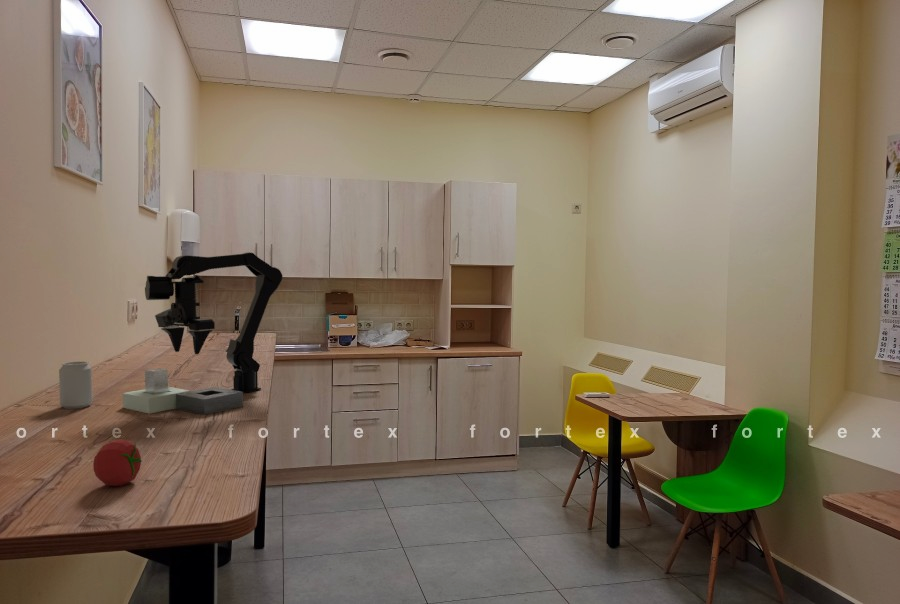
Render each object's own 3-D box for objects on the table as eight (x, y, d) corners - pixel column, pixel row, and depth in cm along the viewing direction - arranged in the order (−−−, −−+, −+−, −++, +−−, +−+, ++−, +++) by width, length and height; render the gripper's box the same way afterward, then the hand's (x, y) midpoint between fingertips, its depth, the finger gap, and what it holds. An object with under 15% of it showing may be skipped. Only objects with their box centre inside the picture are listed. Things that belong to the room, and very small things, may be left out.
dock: (164, 399, 176) (164, 386, 176) (190, 405, 170) (190, 390, 170) (123, 407, 166) (122, 393, 166) (149, 413, 160) (148, 398, 159)
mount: (214, 401, 175) (214, 387, 175) (242, 406, 169) (242, 391, 168) (176, 409, 165) (175, 394, 165) (204, 414, 159) (204, 399, 158)
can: (98, 403, 171) (97, 360, 170) (79, 410, 163) (78, 364, 163) (73, 403, 172) (72, 360, 171) (53, 409, 164) (52, 364, 164)
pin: (159, 404, 171) (158, 368, 170) (168, 406, 169) (167, 369, 168) (145, 407, 167) (144, 370, 167) (154, 408, 165) (153, 371, 165)
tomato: (90, 435, 107) (133, 428, 107) (116, 452, 113) (156, 445, 113) (80, 480, 102) (124, 473, 102) (107, 495, 109) (149, 488, 108)
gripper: (140, 299, 177) (141, 353, 178) (180, 301, 167) (181, 359, 168) (175, 297, 186) (176, 349, 187) (215, 299, 176) (216, 354, 177)
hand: (186, 352), depth 179 cm, fingers open, 9 cm apart
